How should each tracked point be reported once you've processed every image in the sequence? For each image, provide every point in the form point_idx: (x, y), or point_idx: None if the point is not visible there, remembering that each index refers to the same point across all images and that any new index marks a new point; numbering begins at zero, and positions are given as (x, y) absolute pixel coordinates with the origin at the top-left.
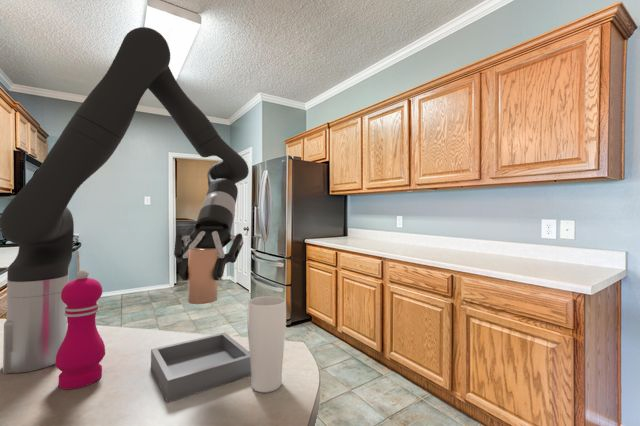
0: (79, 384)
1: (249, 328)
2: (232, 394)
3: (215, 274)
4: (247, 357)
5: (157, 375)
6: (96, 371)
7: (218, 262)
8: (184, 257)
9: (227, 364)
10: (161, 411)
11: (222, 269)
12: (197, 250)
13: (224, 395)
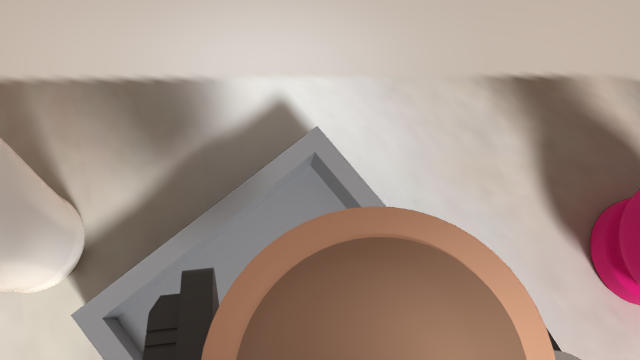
0: (610, 207)
1: (6, 144)
2: (139, 191)
3: (195, 269)
4: (95, 298)
5: None
6: (606, 244)
7: (184, 356)
8: (559, 357)
9: (163, 246)
10: (307, 110)
11: (147, 336)
12: (386, 231)
13: (162, 185)
